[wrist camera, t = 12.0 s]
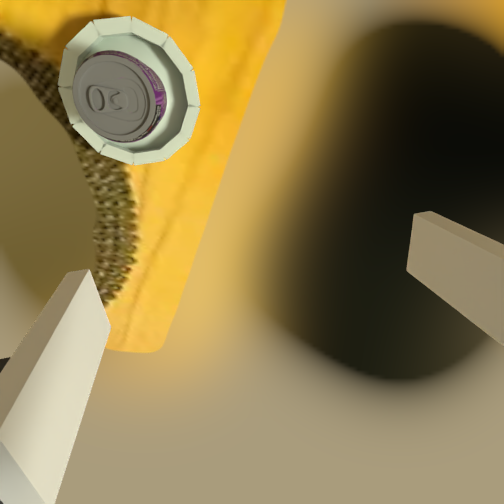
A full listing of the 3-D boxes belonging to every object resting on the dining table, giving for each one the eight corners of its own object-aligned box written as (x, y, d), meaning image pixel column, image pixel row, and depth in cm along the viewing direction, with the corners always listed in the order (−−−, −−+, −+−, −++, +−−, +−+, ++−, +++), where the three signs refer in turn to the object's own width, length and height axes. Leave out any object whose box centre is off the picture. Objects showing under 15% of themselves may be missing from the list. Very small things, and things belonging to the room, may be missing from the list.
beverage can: (105, 130, 37) (75, 146, 26) (94, 58, 34) (55, 44, 23) (169, 131, 38) (165, 146, 28) (164, 62, 35) (157, 50, 25)
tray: (45, 30, 33) (36, 25, 31) (183, 15, 34) (183, 10, 32) (93, 168, 39) (87, 172, 37) (207, 150, 41) (208, 153, 39)
